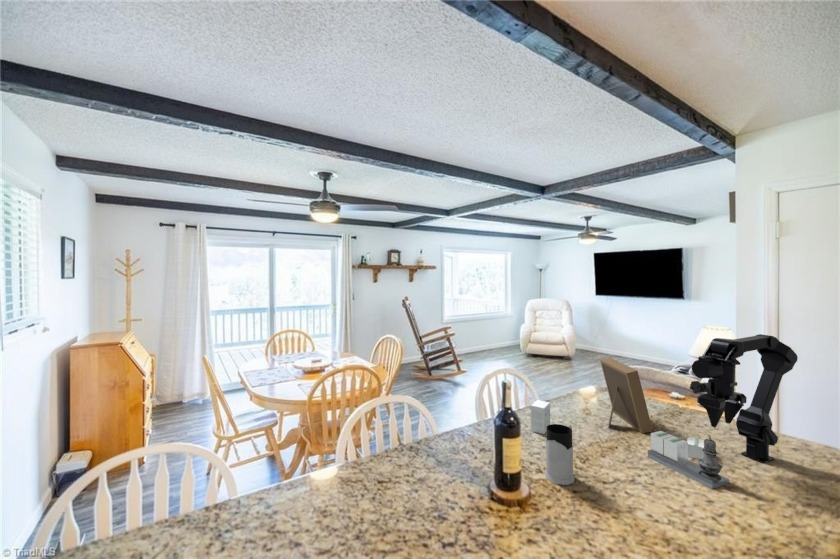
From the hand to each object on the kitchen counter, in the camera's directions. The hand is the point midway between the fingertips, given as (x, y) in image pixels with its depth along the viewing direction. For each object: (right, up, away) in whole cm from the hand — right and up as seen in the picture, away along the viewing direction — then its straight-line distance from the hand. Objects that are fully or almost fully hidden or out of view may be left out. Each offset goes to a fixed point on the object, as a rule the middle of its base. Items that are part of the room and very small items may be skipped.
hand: (720, 425), depth 120 cm
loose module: (-3, -13, +7) cm, 15 cm away
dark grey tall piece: (-10, -12, -8) cm, 18 cm away
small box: (-50, -13, +29) cm, 59 cm away
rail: (-13, -13, -2) cm, 19 cm away
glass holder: (-53, -14, -4) cm, 55 cm away
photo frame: (-15, -13, +35) cm, 40 cm away
